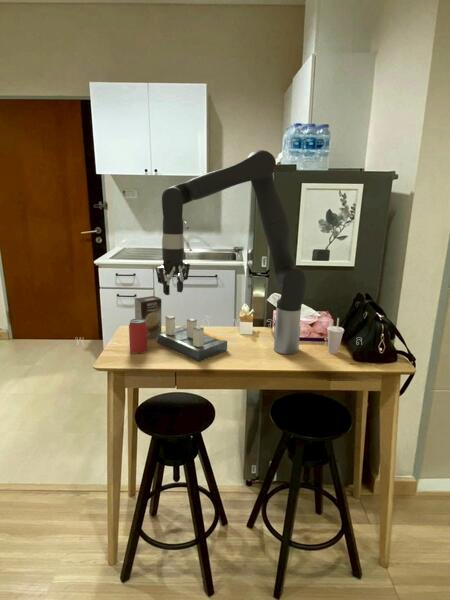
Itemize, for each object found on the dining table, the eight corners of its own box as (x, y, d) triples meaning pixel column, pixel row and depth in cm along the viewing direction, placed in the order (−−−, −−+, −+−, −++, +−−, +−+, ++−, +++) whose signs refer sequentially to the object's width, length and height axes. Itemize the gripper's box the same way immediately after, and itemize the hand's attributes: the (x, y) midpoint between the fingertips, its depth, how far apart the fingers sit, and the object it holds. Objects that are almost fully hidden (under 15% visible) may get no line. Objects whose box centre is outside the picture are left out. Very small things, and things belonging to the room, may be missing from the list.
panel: (185, 334, 172) (185, 324, 171) (227, 350, 156) (227, 340, 155) (157, 343, 161) (157, 333, 160) (198, 362, 146) (198, 351, 145)
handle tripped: (191, 334, 160) (191, 318, 158) (196, 336, 158) (196, 319, 156) (186, 336, 158) (186, 319, 156) (191, 338, 156) (192, 321, 154)
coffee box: (142, 340, 164) (141, 302, 159) (135, 335, 169) (133, 298, 164) (162, 335, 170) (161, 298, 165) (154, 331, 174) (153, 295, 170)
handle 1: (170, 331, 162) (170, 315, 160) (175, 333, 160) (175, 317, 158) (165, 333, 160) (165, 316, 158) (170, 335, 158) (170, 318, 156)
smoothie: (342, 356, 155) (346, 321, 151) (324, 354, 156) (328, 319, 152) (340, 349, 161) (344, 316, 157) (324, 348, 162) (327, 314, 158)
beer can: (130, 347, 157) (129, 318, 153) (147, 346, 158) (146, 317, 154) (129, 354, 150) (128, 323, 147) (147, 353, 152) (146, 323, 148)
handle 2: (197, 343, 151) (198, 325, 150) (203, 345, 150) (203, 327, 148) (193, 344, 150) (193, 327, 148) (198, 347, 148) (198, 329, 146)
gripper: (163, 249, 134) (164, 299, 139) (195, 245, 144) (195, 292, 149) (149, 246, 139) (150, 294, 143) (181, 243, 149) (181, 288, 154)
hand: (173, 293), depth 146 cm, fingers open, 5 cm apart
